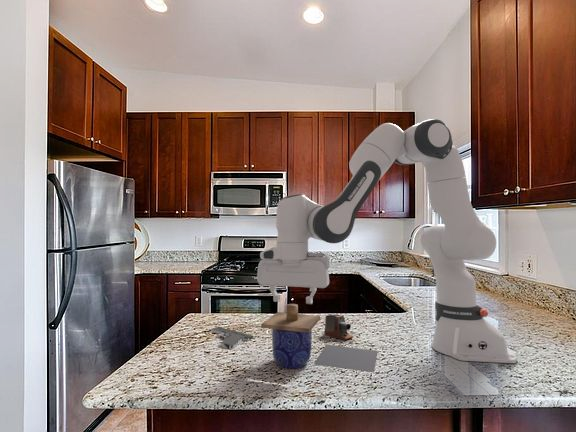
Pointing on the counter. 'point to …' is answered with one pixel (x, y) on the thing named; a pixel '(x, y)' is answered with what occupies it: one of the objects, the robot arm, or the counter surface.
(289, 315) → the lid
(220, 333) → the handgun
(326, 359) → the mat
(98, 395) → the counter surface
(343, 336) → the electronic device
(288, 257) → the robot arm
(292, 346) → the planter
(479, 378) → the counter surface
